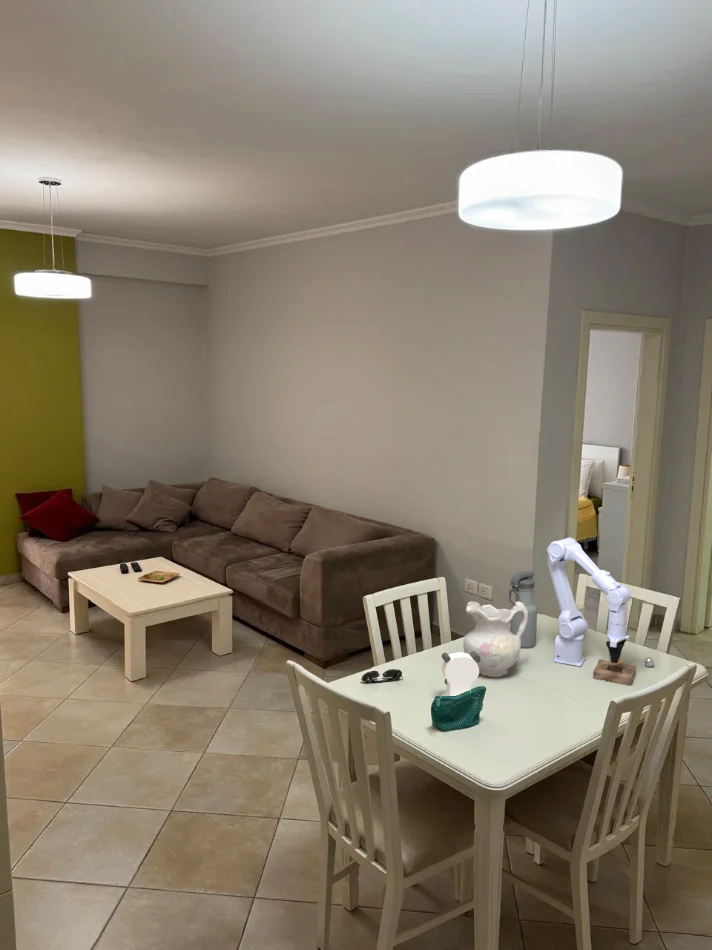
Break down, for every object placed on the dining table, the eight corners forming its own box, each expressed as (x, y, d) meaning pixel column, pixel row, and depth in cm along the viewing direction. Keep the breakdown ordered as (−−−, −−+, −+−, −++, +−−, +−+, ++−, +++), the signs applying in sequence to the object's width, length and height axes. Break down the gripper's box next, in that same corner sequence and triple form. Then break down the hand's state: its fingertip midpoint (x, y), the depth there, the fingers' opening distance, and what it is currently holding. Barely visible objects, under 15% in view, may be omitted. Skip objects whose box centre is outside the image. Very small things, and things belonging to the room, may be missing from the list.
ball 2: (643, 667, 255) (643, 658, 254) (644, 664, 258) (645, 655, 257) (653, 668, 253) (653, 660, 253) (654, 665, 256) (654, 657, 256)
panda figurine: (472, 690, 236) (473, 646, 234) (483, 706, 225) (485, 659, 223) (436, 692, 234) (437, 648, 232) (446, 708, 223) (447, 662, 221)
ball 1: (609, 665, 246) (610, 656, 246) (611, 662, 249) (611, 653, 249) (619, 667, 245) (619, 658, 244) (620, 663, 248) (621, 654, 247)
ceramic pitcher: (509, 660, 264) (508, 592, 262) (538, 677, 245) (537, 604, 243) (454, 667, 257) (453, 598, 255) (480, 685, 238) (479, 611, 237)
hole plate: (593, 678, 245) (593, 671, 245) (599, 666, 256) (599, 659, 255) (630, 685, 239) (631, 678, 239) (635, 672, 250) (635, 665, 250)
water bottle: (518, 650, 270) (520, 577, 266) (503, 641, 279) (505, 570, 275) (541, 646, 273) (544, 574, 270) (526, 638, 282) (528, 568, 279)
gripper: (626, 630, 237) (624, 670, 239) (632, 617, 249) (630, 655, 251) (604, 627, 240) (602, 666, 242) (611, 614, 253) (609, 651, 255)
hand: (615, 660), depth 247 cm, fingers closed on ball 1, 3 cm apart
